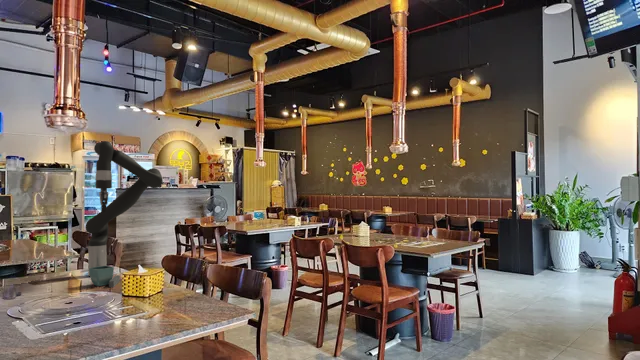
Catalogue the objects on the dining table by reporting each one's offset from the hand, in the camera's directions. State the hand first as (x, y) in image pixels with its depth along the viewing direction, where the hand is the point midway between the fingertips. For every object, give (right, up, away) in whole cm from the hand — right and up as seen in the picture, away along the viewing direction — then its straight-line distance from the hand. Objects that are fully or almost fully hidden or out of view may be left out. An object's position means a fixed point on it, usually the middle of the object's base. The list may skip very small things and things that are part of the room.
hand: (103, 212), depth 217 cm
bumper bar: (+8, -37, -4) cm, 38 cm away
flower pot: (+2, -37, -6) cm, 38 cm away
